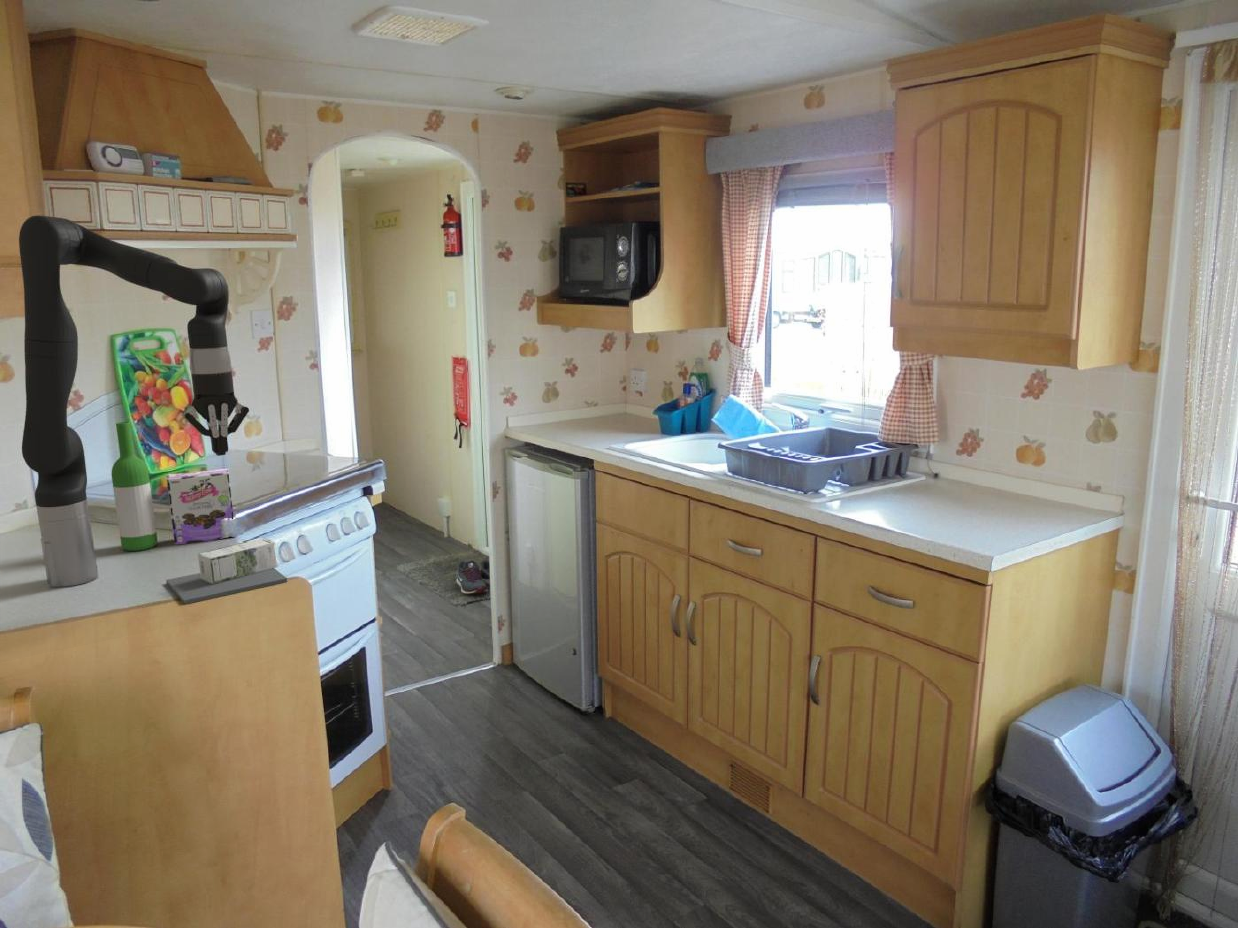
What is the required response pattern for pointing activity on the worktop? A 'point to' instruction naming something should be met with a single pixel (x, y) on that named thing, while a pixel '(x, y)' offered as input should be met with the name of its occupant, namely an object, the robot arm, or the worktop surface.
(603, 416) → the worktop surface
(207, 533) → the candy box
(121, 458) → the wine bottle
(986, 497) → the worktop surface
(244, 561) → the syrup box
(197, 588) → the mat
